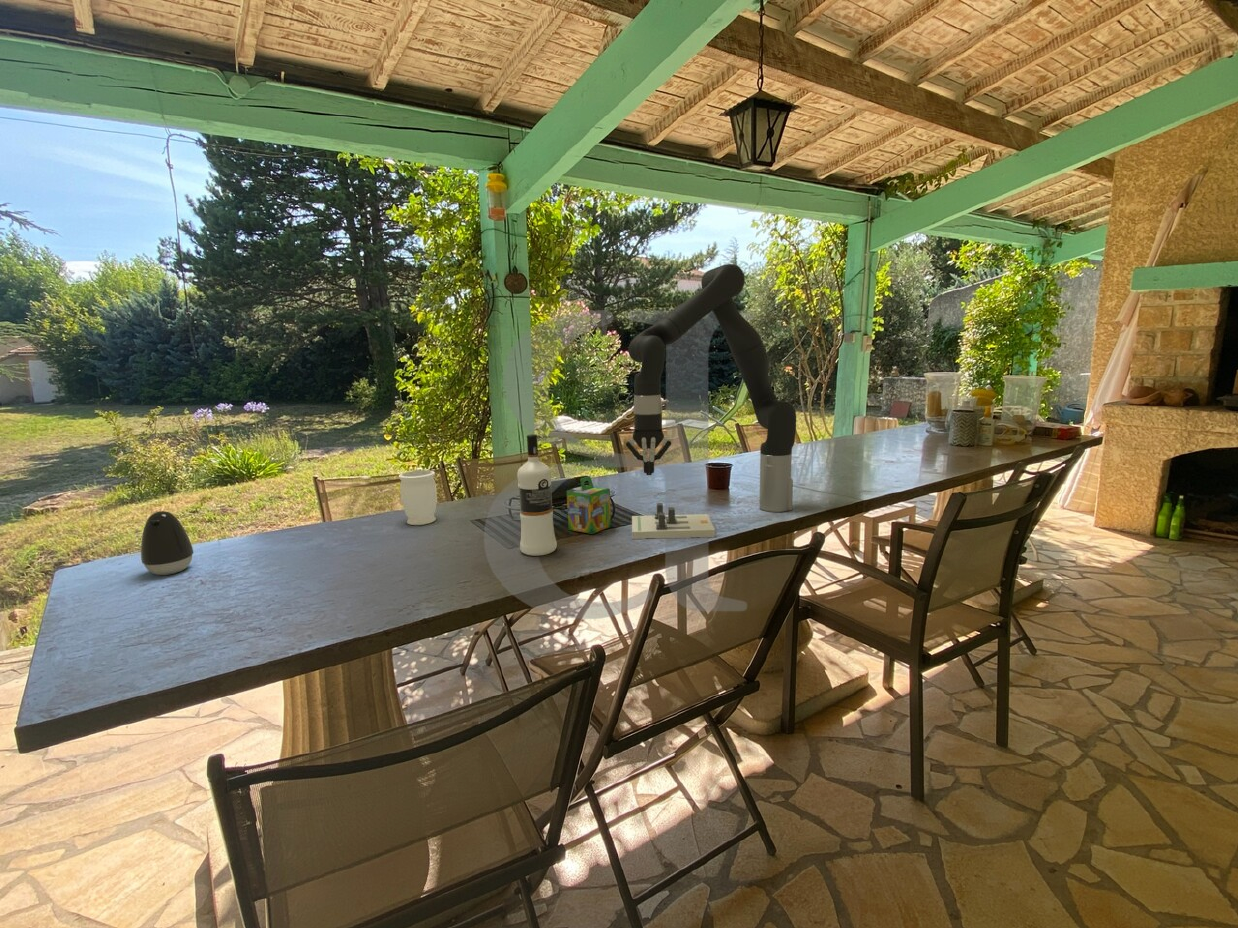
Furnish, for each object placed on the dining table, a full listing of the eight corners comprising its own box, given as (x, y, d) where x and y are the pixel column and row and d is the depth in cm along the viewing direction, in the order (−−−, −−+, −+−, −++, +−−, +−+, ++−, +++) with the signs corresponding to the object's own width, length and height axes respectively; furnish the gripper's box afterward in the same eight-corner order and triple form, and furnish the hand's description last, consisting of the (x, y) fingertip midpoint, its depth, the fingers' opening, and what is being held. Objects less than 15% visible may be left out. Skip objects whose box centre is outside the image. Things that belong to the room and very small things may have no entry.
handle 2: (666, 525, 165) (666, 512, 165) (667, 528, 162) (667, 515, 162) (656, 525, 166) (656, 512, 165) (656, 528, 162) (656, 515, 162)
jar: (432, 526, 179) (428, 476, 176) (398, 527, 180) (392, 477, 177) (443, 516, 190) (439, 469, 187) (410, 517, 190) (406, 470, 187)
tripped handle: (676, 519, 170) (676, 506, 170) (677, 522, 167) (677, 510, 166) (666, 519, 170) (666, 507, 170) (666, 523, 167) (666, 510, 166)
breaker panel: (707, 520, 176) (707, 513, 176) (715, 537, 162) (715, 529, 161) (632, 522, 177) (631, 515, 176) (632, 539, 162) (632, 531, 162)
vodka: (546, 542, 162) (540, 430, 156) (563, 551, 154) (557, 434, 148) (514, 549, 157) (506, 434, 151) (530, 559, 149) (522, 438, 143)
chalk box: (592, 535, 166) (589, 482, 163) (567, 530, 172) (564, 479, 169) (612, 526, 174) (611, 476, 171) (588, 522, 179) (586, 472, 176)
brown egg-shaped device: (135, 581, 142) (123, 519, 139) (156, 566, 152) (144, 508, 149) (185, 576, 145) (174, 515, 142) (202, 561, 155) (192, 504, 152)
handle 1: (664, 514, 175) (664, 502, 175) (665, 518, 172) (664, 505, 171) (654, 515, 175) (654, 502, 175) (655, 518, 172) (655, 505, 171)
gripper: (671, 409, 166) (672, 471, 170) (623, 410, 167) (624, 472, 170) (673, 412, 159) (674, 477, 162) (623, 413, 159) (624, 478, 163)
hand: (648, 474), depth 166 cm, fingers closed
